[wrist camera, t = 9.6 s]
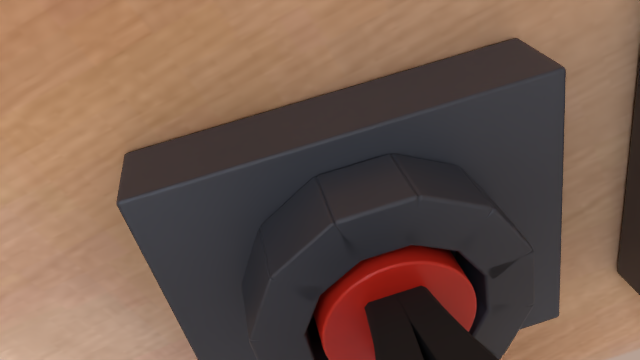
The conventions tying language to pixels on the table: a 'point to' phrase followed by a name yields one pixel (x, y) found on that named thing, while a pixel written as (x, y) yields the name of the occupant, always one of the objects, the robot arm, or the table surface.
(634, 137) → the panel
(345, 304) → the power button
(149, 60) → the table surface
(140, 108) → the table surface
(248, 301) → the switch block
